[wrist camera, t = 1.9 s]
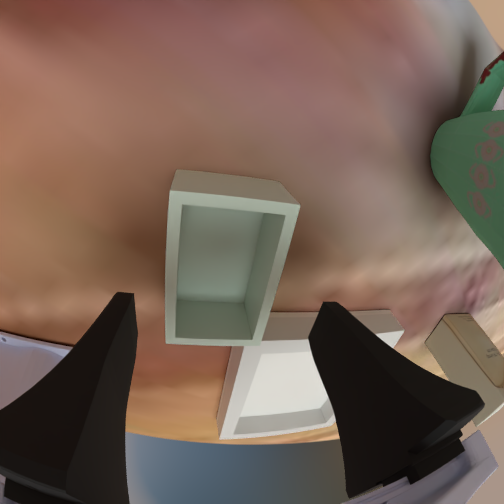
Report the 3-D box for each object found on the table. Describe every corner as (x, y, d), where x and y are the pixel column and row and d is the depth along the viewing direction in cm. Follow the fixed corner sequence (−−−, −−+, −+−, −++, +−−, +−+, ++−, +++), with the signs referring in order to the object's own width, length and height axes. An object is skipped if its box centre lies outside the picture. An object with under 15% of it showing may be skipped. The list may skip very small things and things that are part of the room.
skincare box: (469, 312, 25) (525, 383, 15) (449, 340, 27) (498, 410, 17) (443, 313, 23) (508, 399, 13) (421, 344, 25) (475, 429, 15)
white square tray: (216, 418, 25) (219, 439, 23) (239, 311, 17) (245, 340, 15) (324, 408, 28) (331, 425, 26) (389, 309, 20) (404, 330, 18)
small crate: (168, 300, 16) (165, 343, 13) (176, 167, 13) (169, 190, 10) (248, 304, 18) (259, 345, 15) (277, 179, 14) (300, 205, 11)
